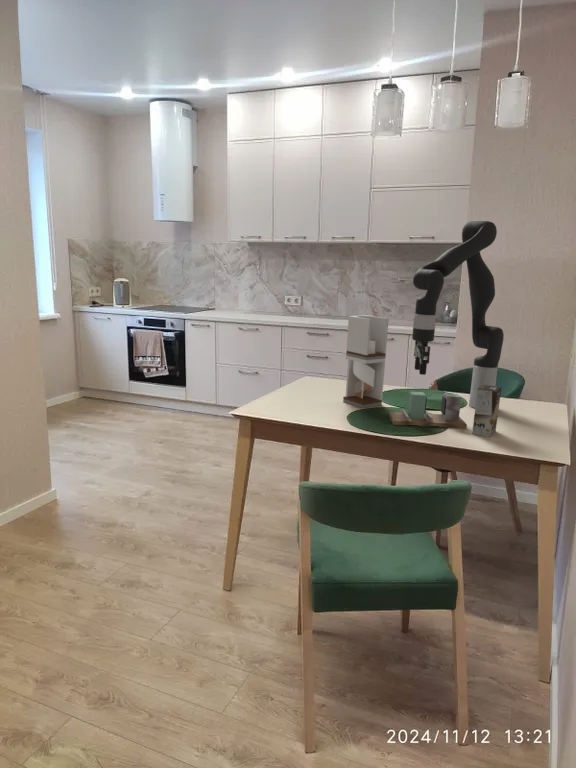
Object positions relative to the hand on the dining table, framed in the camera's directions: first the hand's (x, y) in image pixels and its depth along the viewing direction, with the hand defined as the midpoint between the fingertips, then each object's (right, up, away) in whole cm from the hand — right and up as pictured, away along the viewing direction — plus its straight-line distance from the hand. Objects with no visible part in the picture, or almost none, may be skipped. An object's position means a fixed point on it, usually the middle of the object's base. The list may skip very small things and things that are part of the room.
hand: (419, 372), depth 201 cm
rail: (+3, -18, +4) cm, 19 cm away
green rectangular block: (-1, -17, +4) cm, 17 cm away
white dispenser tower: (-17, -12, +27) cm, 34 cm away
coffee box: (+21, -21, -6) cm, 31 cm away
